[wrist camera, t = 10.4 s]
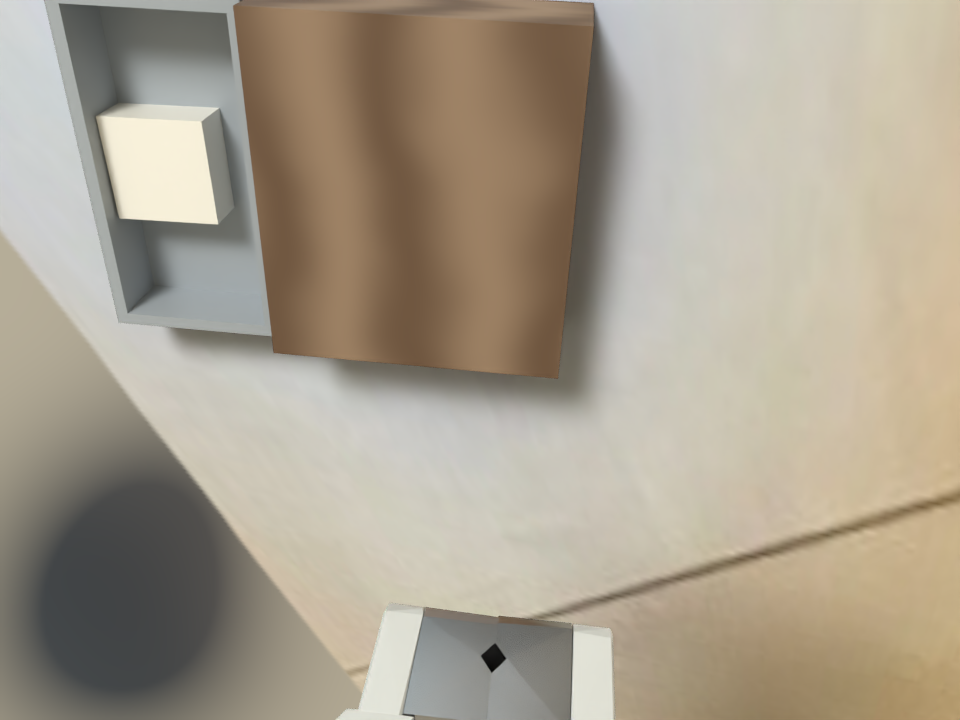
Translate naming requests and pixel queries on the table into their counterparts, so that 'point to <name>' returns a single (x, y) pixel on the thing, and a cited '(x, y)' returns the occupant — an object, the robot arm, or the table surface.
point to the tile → (167, 162)
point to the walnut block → (417, 175)
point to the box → (178, 82)
